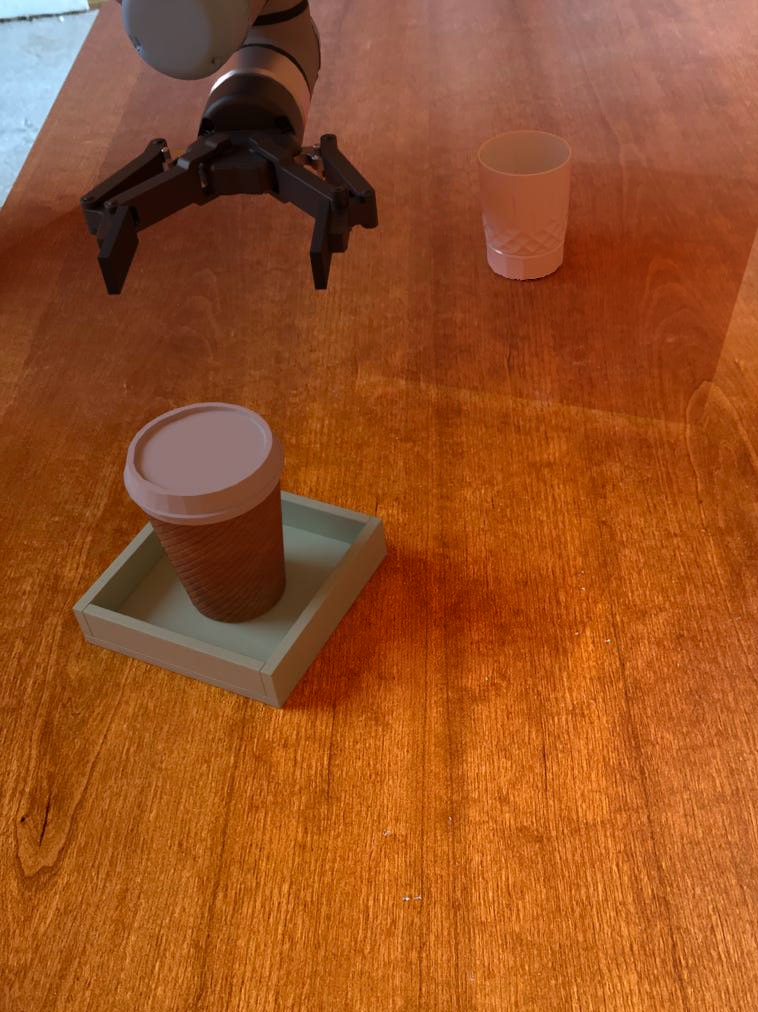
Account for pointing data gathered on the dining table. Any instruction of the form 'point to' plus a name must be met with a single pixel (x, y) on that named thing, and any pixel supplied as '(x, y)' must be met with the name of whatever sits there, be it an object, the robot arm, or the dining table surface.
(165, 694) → the dining table surface
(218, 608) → the disposable coffee cup
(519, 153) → the white cup
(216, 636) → the square tray
